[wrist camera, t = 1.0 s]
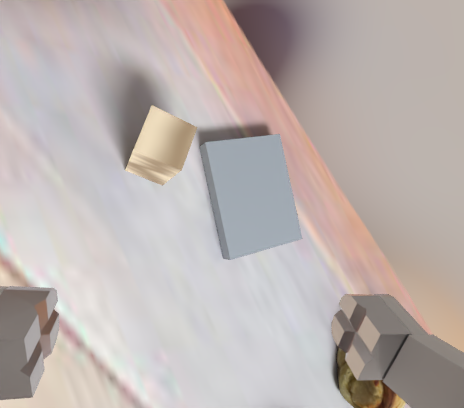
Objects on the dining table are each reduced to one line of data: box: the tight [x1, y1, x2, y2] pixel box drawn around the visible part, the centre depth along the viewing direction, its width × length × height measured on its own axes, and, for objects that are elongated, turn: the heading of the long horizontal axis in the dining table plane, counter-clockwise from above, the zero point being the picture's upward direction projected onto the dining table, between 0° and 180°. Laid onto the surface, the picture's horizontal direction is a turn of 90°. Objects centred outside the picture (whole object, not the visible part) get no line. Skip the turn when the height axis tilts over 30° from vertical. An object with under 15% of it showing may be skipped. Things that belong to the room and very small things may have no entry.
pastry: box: [336, 347, 406, 408], centre depth 47 cm, size 14×12×8 cm
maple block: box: [125, 105, 197, 185], centre depth 35 cm, size 5×5×10 cm
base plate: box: [200, 134, 302, 260], centre depth 44 cm, size 16×12×3 cm
